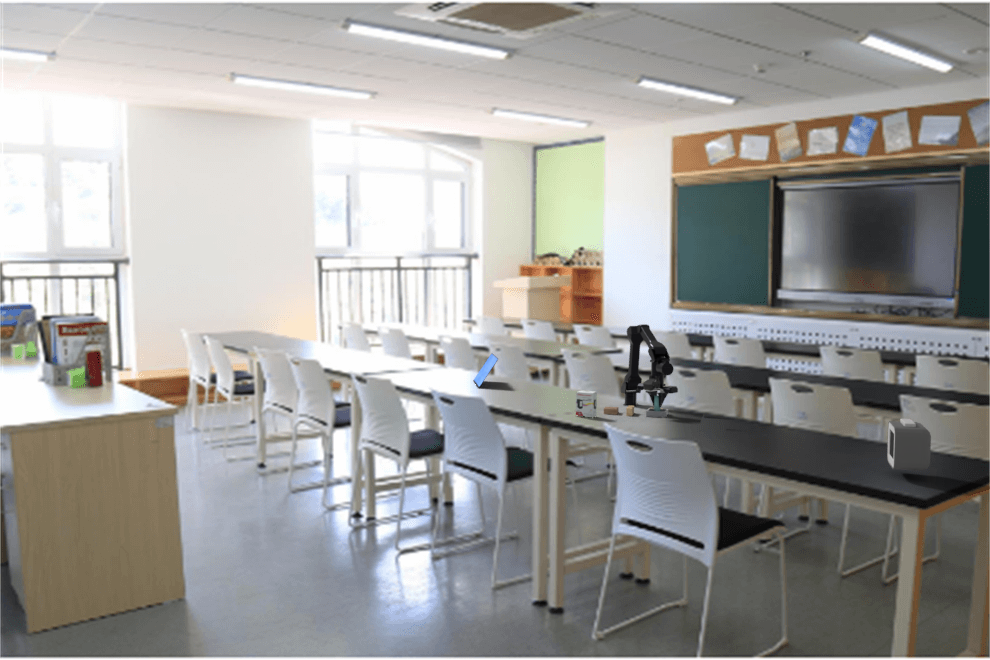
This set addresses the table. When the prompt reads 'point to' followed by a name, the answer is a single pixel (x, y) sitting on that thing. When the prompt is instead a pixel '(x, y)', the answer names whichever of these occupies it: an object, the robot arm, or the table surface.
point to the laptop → (485, 370)
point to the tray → (656, 413)
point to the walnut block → (611, 410)
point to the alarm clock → (908, 445)
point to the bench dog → (629, 410)
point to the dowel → (656, 403)
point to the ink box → (586, 403)
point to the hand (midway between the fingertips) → (657, 406)
